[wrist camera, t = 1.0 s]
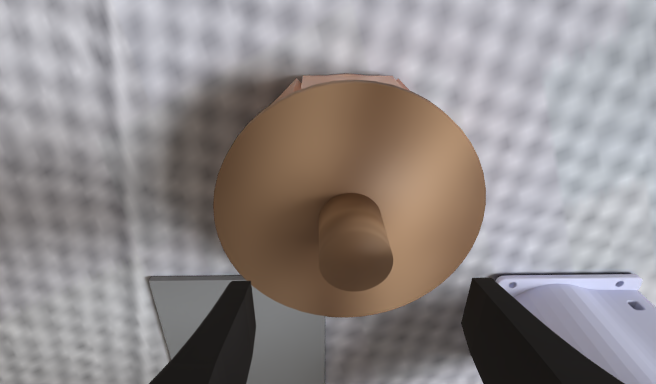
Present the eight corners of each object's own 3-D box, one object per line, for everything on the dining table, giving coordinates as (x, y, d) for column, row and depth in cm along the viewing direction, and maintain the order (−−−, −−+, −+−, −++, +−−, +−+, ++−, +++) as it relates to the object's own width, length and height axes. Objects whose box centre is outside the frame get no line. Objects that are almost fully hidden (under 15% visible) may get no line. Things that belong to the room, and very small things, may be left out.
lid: (507, 79, 15) (561, 105, 11) (455, 305, 20) (481, 366, 17) (197, 79, 14) (162, 105, 11) (232, 308, 20) (216, 370, 17)
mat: (325, 274, 24) (325, 279, 24) (324, 384, 29) (324, 389, 29) (151, 276, 24) (148, 280, 23) (181, 386, 29) (180, 391, 29)
